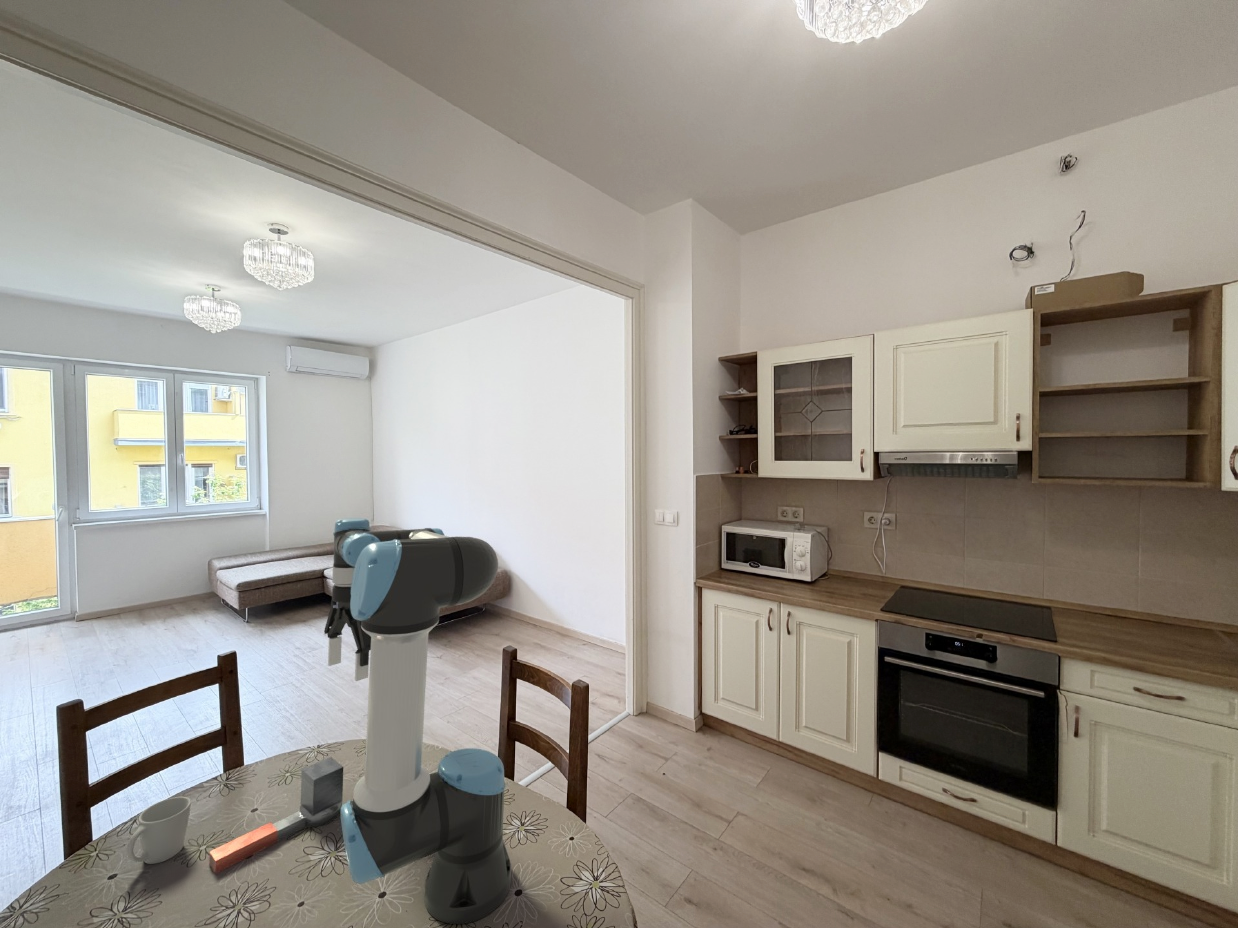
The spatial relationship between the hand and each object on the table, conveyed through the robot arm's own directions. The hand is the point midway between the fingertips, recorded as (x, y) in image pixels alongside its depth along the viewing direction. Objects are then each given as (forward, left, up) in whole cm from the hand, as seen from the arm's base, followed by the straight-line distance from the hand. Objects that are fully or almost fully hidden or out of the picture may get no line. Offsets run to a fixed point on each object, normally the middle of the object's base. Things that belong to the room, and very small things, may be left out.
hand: (347, 671), depth 119 cm
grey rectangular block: (-7, +8, -24) cm, 26 cm away
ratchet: (-7, +16, -27) cm, 32 cm away
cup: (+4, +33, -27) cm, 42 cm away
